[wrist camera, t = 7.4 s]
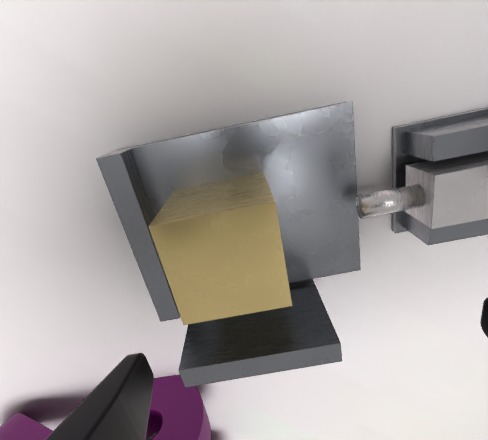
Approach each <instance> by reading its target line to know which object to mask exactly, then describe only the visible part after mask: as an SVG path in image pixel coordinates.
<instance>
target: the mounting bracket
mask: <svg viewBox="0 0 488 440" xmlns="http://www.w3.org/2000/svg"><path fill="white" fill-rule="evenodd" d="M158 431H159V433H158V434H157V435H156V436H155V437H154V438H153V439H152V440H211V429H210V423H209V419H208V416H207V413H206V410H205V407H204V404H203V401H202V398H201V396H200V393H199V391H198V390H197V388H196V387H195V386H190V387H185V385H184V383H183V380H182V378H181V376H177V375H173V376H167V377H160V378H154V383H153V390H152V397H151V404H150V411H149V418H148V425H147V432H146V438H145V440H147V438H148V437H149V436H151V435H152V434H153V433H155V432H158ZM52 432H53V431H52V430H51V429H49V428H47V427H45V426H43V425H42V424H40V423H38V422H36V421H35V420H33V419H31V418H29V417H27V416H25V415H23V414H20V413H15V414H14V415H13V416H12V417H11V418H9V419H8V420H7V421H6V422H5V423H4V424H3V425H2V426H1V427H0V440H45V439H46V438H47V437H48V436H49V435H50V434H51V433H52Z"/></svg>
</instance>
